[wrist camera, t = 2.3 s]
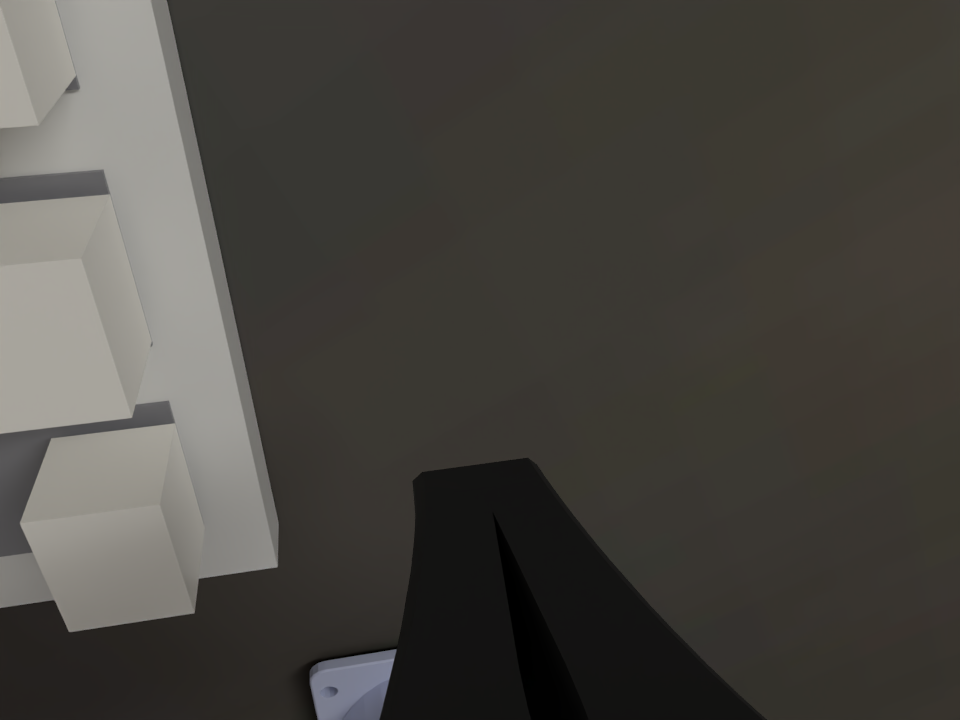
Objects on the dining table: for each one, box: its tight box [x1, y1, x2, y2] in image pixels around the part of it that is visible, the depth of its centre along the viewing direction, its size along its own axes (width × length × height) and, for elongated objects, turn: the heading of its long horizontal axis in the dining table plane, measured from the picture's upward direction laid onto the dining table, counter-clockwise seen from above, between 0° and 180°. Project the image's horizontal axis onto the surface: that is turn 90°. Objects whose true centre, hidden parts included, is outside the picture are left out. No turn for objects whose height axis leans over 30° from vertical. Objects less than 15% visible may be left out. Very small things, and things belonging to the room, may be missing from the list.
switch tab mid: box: [0, 194, 152, 434], centre depth 14 cm, size 3×2×2 cm
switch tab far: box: [20, 423, 205, 632], centre depth 17 cm, size 3×2×2 cm
